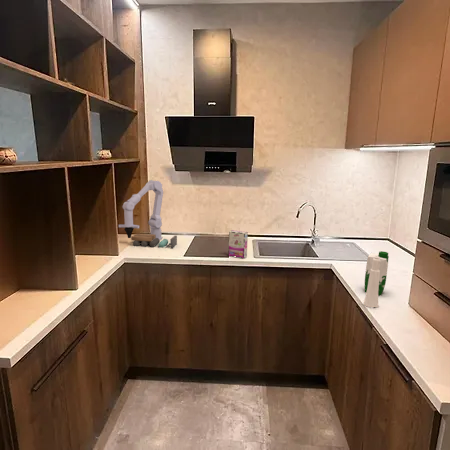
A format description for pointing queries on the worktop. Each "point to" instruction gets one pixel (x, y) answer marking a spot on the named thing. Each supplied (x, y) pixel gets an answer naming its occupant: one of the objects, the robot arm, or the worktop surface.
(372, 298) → the cosmetic bottle
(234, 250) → the candy bar box
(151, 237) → the slab
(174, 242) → the bar
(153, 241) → the roller bed
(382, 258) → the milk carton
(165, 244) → the roller
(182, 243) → the worktop surface
